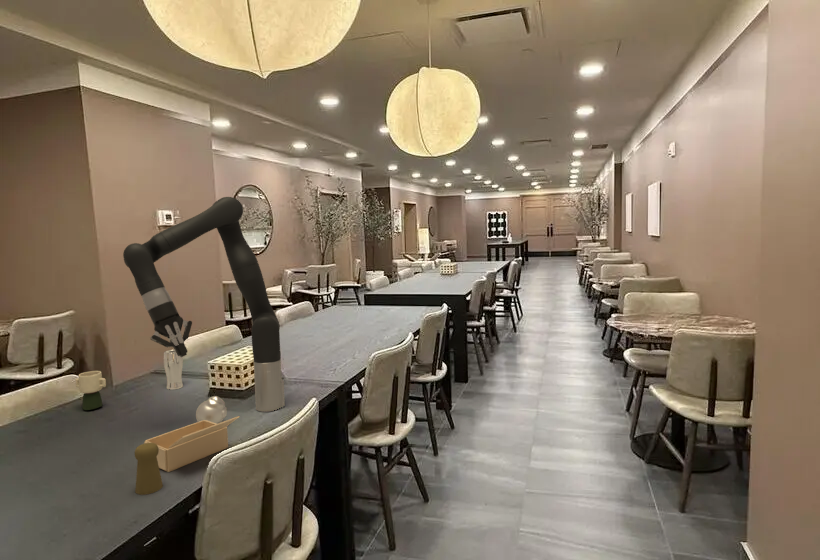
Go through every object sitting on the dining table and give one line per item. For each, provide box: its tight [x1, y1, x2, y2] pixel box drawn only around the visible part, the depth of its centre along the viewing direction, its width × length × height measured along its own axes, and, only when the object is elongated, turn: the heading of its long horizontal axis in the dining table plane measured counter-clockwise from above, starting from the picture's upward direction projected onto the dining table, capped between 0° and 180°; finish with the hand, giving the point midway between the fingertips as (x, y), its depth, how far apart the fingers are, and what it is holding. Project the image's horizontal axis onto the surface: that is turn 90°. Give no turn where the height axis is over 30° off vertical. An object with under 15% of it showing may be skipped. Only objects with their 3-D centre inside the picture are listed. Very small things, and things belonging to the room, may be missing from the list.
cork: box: [134, 443, 164, 496], centre depth 123 cm, size 6×6×11 cm
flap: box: [169, 415, 241, 448], centre depth 136 cm, size 17×1×8 cm
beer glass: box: [163, 349, 184, 391], centre depth 205 cm, size 7×7×15 cm
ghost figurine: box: [195, 395, 228, 424], centre depth 162 cm, size 9×10×10 cm
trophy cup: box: [75, 370, 107, 411], centre depth 181 cm, size 11×7×13 cm, turn 88°
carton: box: [143, 420, 229, 473], centre depth 142 cm, size 19×12×6 cm, turn 146°
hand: (184, 355), depth 156 cm, fingers closed
